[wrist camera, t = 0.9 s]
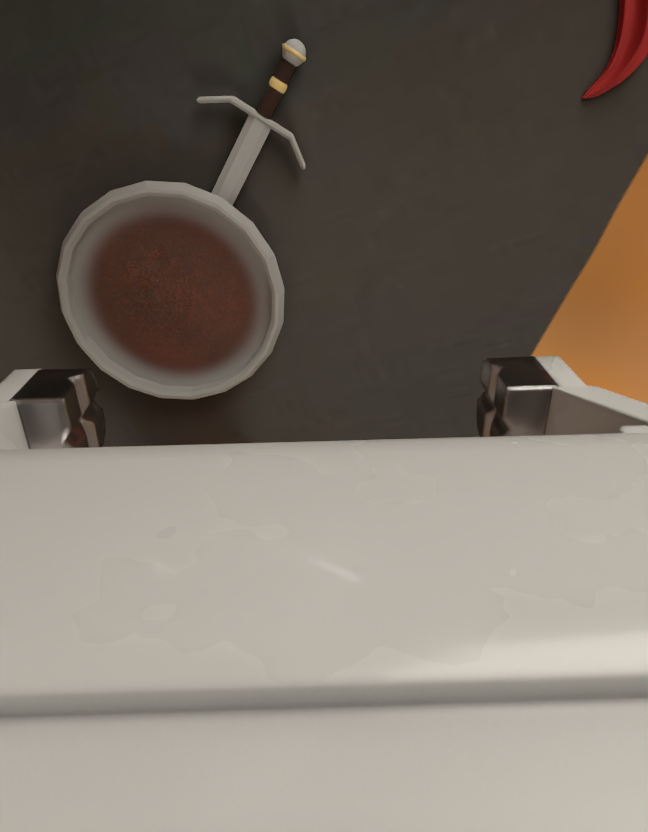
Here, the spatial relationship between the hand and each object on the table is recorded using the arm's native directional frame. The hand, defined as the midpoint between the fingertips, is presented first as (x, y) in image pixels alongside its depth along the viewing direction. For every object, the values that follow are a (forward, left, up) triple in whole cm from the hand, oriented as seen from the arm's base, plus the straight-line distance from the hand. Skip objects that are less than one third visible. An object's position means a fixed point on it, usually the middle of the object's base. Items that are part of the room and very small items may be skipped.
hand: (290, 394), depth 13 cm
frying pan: (+4, -7, -36) cm, 36 cm away
